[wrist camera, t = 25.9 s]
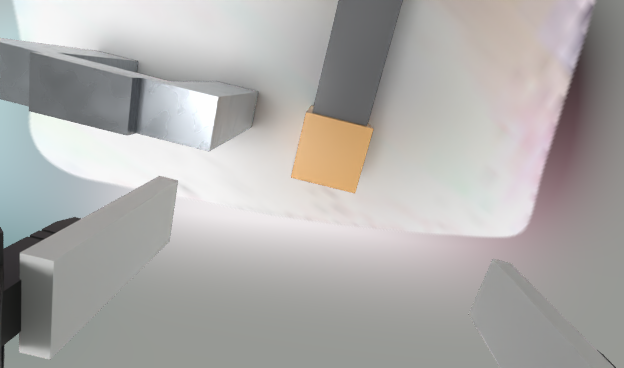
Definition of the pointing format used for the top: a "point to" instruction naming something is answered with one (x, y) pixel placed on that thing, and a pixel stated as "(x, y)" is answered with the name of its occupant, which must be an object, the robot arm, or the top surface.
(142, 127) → the housing
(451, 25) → the top surface
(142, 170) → the top surface
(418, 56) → the top surface
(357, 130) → the grey and orange block
